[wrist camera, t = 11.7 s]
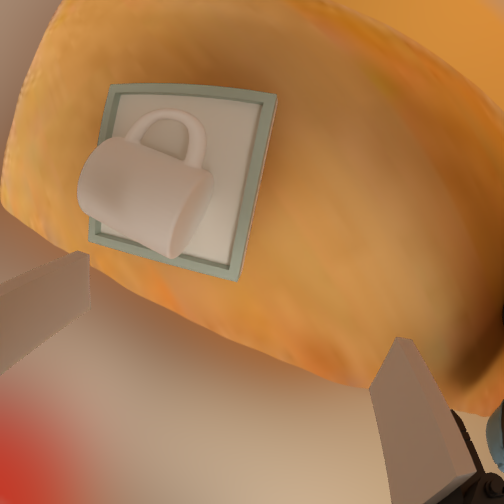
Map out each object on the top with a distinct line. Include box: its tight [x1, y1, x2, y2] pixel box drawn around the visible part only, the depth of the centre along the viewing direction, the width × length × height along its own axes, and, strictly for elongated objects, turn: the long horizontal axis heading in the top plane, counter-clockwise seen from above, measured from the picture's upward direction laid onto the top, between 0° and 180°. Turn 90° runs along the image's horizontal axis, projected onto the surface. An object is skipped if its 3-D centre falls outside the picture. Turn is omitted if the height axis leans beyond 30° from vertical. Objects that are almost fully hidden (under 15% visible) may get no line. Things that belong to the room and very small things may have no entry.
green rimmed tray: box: [88, 83, 278, 282], centre depth 29 cm, size 18×18×7 cm
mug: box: [77, 108, 214, 259], centre depth 23 cm, size 12×10×8 cm
